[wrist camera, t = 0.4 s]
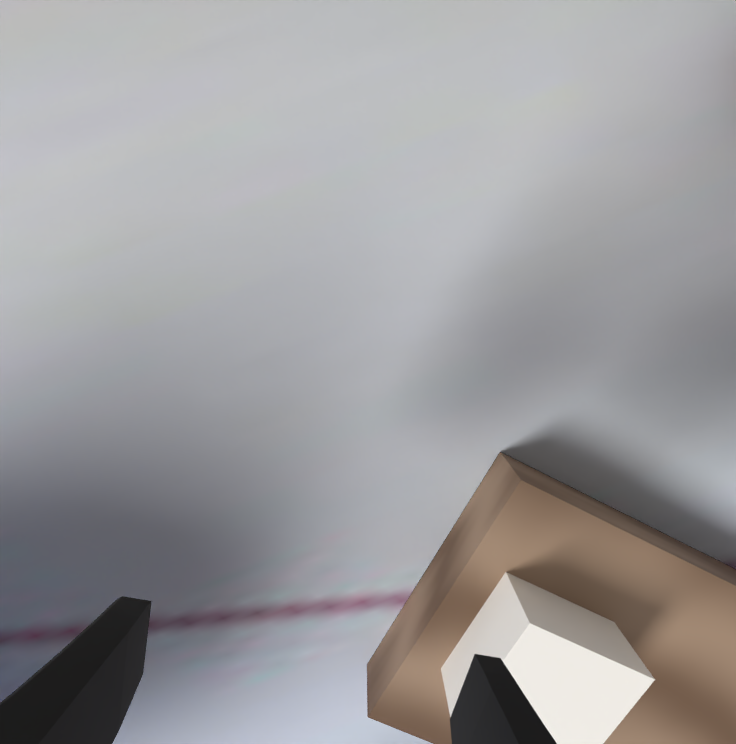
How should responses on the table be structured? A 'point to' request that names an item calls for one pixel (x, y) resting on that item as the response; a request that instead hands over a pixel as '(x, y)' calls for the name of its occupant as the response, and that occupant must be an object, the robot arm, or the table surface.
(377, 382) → the table surface
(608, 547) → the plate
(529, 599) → the white square block
